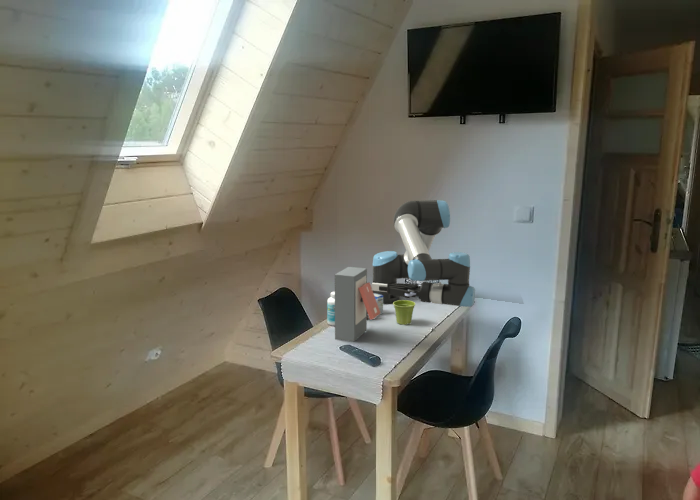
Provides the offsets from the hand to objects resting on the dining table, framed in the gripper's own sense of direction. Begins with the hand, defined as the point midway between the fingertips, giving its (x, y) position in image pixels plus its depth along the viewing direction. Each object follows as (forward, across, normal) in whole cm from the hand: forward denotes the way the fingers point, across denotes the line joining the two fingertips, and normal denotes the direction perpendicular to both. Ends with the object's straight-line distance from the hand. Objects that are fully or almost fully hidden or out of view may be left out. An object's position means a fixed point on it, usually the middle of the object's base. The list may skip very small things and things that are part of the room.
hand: (372, 286), depth 211 cm
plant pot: (-6, -22, +21) cm, 31 cm away
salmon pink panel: (-2, 0, +12) cm, 12 cm away
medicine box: (+10, -30, +21) cm, 38 cm away
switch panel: (+8, 0, +21) cm, 22 cm away
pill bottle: (+20, -10, +21) cm, 31 cm away
